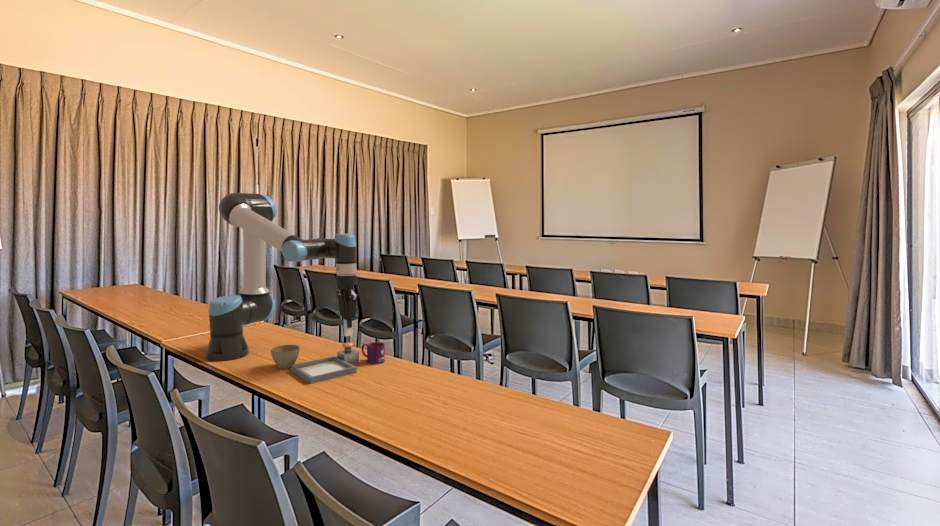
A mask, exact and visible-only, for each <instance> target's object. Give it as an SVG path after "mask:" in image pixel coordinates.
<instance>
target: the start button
mask: <svg viewBox="0 0 940 526" xmlns="http://www.w3.org/2000/svg"><path fill="white" fill-rule="evenodd" d="M341 345H342V348H344V350H345V353H351V349H352V347H353V346H354V342H343V343H342V344H341Z"/></svg>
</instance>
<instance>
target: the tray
mask: <svg viewBox="0 0 940 526" xmlns="http://www.w3.org/2000/svg"><path fill="white" fill-rule="evenodd" d="M357 370H358V368H357V366H356V365H354V364H350V363H348V362H346V361H344V360H342V359H340V358H338V357H337V355H336V356H335V355H333V356H328V357H324V358H320V359H319V358H318V359H315V360H311V361H305V362H301V363H295V364H294V365H291V368H290V372H292V373H293V374H295V375H297V376H298V377H299V378H301V379H302V380H304V381H306V382H307V383H309V384H310V385H313V384H316V383H320V382H325V381H328V380H332V379H337V378H340V377H344V376H348V375H352V374H356V373H357V372H358V371H357Z"/></svg>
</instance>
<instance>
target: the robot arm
mask: <svg viewBox="0 0 940 526" xmlns="http://www.w3.org/2000/svg"><path fill="white" fill-rule="evenodd" d="M218 213H219V215H220V217H221V218H222V219H223V220H224V221H225V222H226V223H228V224H229V225H231V226H233V227H235V228H241V229H242V230H243V231H242V233H243V235H242V236H243V237H242V239H243V240H242V241H243V243H242V244H243V245H242V246H243V249H242V251H243V252H242V253H243V254H242V256H243V258H242V266H243V268H242V269H243V270H242V271H243V272H242V273H243V274H242V275H243V276H242V278H243V279H242V280H243V281H242V282H243V284H242V288H241V289H240V290H239V291H238V294H229V295H224V296H223V295H221V296H219V297H216V298H213V299H211V300H210V301H209V304H208V318H209V336H210V337H209V342H208V344H207V348H206V351H205V357H206V360H208V361H209V360H210V361H214V362H215V361H217V362H218V361H220V362H221V361H223V362H224V361H230V360H236V359H240V358H243V357H245V356H247V355H249V350H250V349H249V345H248V343H247V341H246V338H245V336H244V326H247V325H251V324H255V323H261V322H263V321H265V320H269V319H270V318H271V317H272V316H273V315H274V313H275V311H276V299H275V298H274V296H273V295H272V294H271V293H270V289H268V287H267V286H266V285H267V283H266V281H267V280H266V278H267V275H266V272H267V269H266V268H267V267H266V265H267V264H266V263H267V259H266V258H267V257H266V256H267V244H269V245H271V246H272V247H273V248H275V249H277V250H278V251H280V252H281V255H282V257H284V259H285V260H286V261H287V262H290V263H291V262H292V263H299V262H304V261H311V260H312V261H313V260H319V259H320V260H321V259H322V260H323V259H335V268H334V269H335V272H336V273H335V274H336V276H335V277H336V278H335V279H336V280H335V282H336V286H339V290H336V291H335V293H336V297H337V301H338V302H337V303H338V308H339V309H338V311H339V315H340V317H342V319H343V336H344V337H350V336H351V337H352V336H353V320H354V319H355V318H356V314H357V305H358V303H357V302H358V297H359V294H357V293H355V287H354V286H355V285H357V283H358V277H357V276H358V275H357V271H358V270H357V269H358V268H357V241H356V236H355V234H353V233H335V235H334V238H321V237H319V238H312V239H304V238H301V237H299V236H297V235H295V234H294V233H292V232H290V231H288V230H286V229H285V228H283V227H281V226H280V225H278V224H276V223H275V222H274V220H275V218H276V216H277V207H276V203H275V202H274V200H273V199H272V198H271V197H270V196H268V194H263V193H248V192H231V193H227V194H226V195H224V196H223V198H222V199H220V200H219V205H218Z"/></svg>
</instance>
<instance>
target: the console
mask: <svg viewBox="0 0 940 526" xmlns="http://www.w3.org/2000/svg"><path fill="white" fill-rule="evenodd" d="M336 357H338V358H340V359H342V360H344V361H346V362H348V363H350V364H352V365H354V364H356V363H360V352H359V351H357V350H355V349H353V348H351V353H345V349H343V350H338V351H336Z"/></svg>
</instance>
